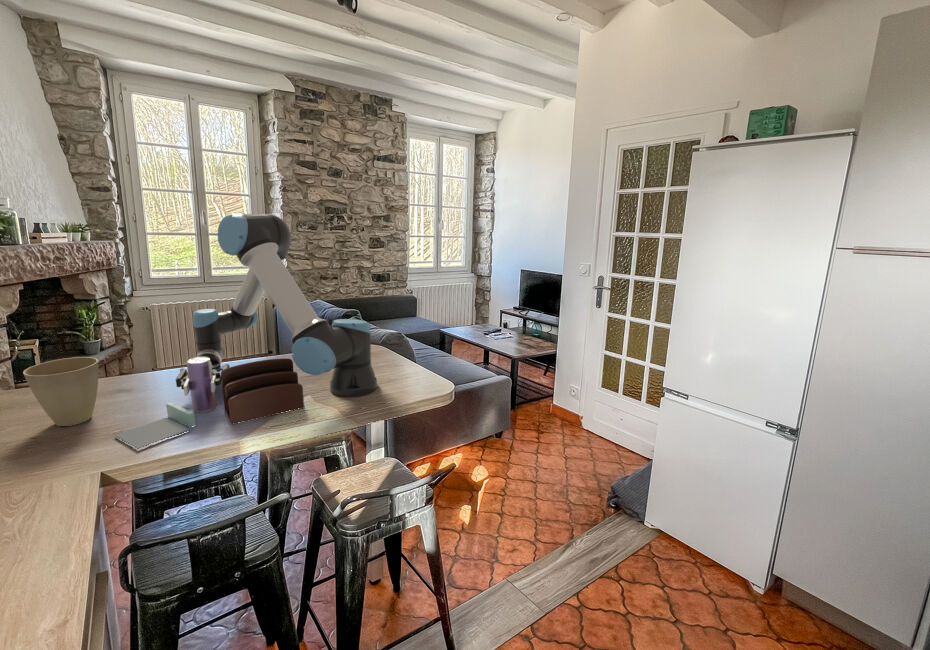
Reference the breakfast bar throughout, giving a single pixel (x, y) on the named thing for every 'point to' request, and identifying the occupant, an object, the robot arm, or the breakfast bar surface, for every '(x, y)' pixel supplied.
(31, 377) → the plant pot
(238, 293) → the robot arm
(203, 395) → the beverage can
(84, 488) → the breakfast bar surface
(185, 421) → the frosted wall
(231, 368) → the letter holder
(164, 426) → the slate coaster
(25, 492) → the breakfast bar surface
